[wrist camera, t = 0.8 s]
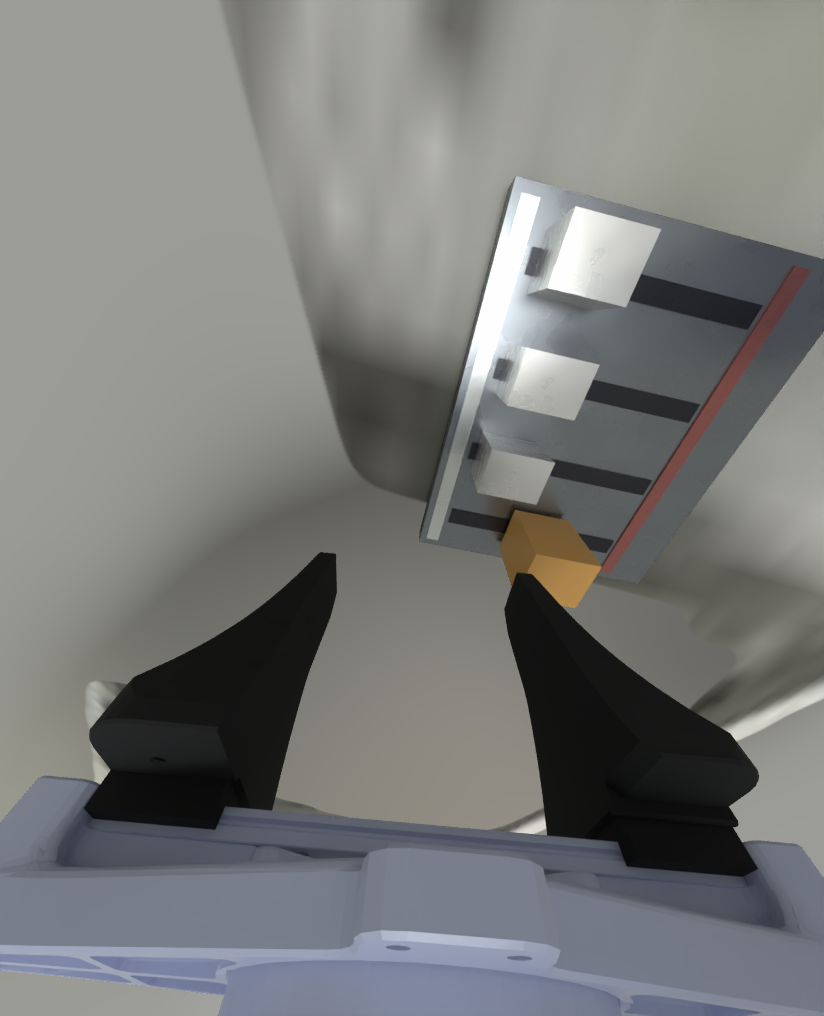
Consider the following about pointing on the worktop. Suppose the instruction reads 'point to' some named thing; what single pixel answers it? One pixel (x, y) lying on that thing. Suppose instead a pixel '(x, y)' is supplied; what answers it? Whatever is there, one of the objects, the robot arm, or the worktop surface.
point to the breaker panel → (613, 373)
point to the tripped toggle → (549, 555)
